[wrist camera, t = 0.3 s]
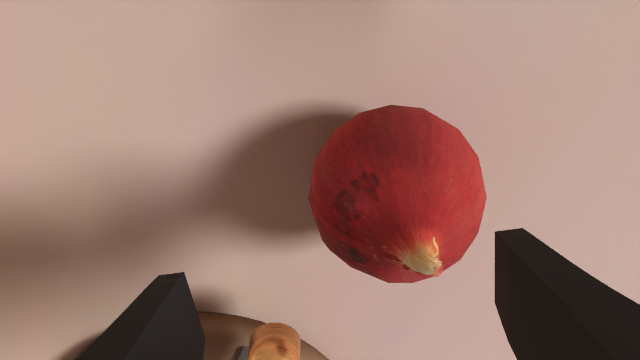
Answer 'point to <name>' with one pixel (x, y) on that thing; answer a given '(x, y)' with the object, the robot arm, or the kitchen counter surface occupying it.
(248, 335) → the base
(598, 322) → the robot arm
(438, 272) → the onion
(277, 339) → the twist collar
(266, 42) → the kitchen counter surface
